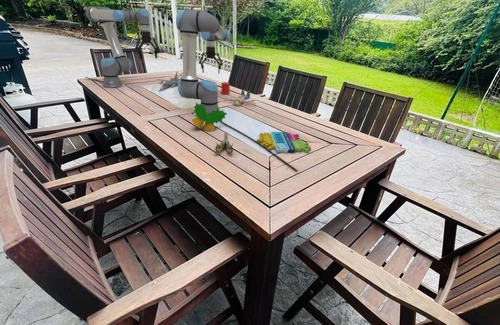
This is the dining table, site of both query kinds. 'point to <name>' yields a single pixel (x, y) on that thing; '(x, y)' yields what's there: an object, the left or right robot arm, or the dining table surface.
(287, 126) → the dining table surface
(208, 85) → the right robot arm
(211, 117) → the ornament
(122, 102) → the dining table surface
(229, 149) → the jawbone
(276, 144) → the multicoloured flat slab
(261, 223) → the dining table surface
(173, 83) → the airplane
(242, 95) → the toy
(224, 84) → the can
